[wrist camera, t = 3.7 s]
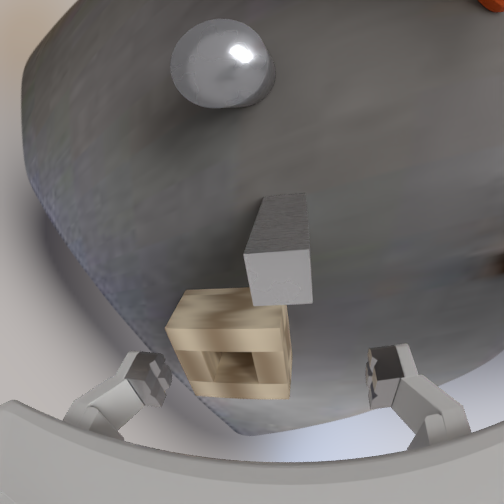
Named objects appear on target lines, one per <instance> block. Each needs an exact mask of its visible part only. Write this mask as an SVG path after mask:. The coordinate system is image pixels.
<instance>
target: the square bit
mask: <svg viewBox="0 0 504 504" xmlns="http://www.w3.org/2000/svg"><path fill="white" fill-rule="evenodd" d="M243 255H244V260H245V265H246V271H247V276H248V281H249V286H250V291H251V296H252V301H253V306H271V305H291V304H308V303H313V295H312V273H311V255H310V239H309V226H308V215H307V204H306V195H305V193H299V194H288V195H278V196H268V197H264V198H263V201H262V204H261V207H260V209H259V212H258V215H257V218H256V220H255V223H254V226H253V229H252V232H251V234H250V237H249V240H248V243H247V245H246V248H245V251H244V254H243Z"/></svg>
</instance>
